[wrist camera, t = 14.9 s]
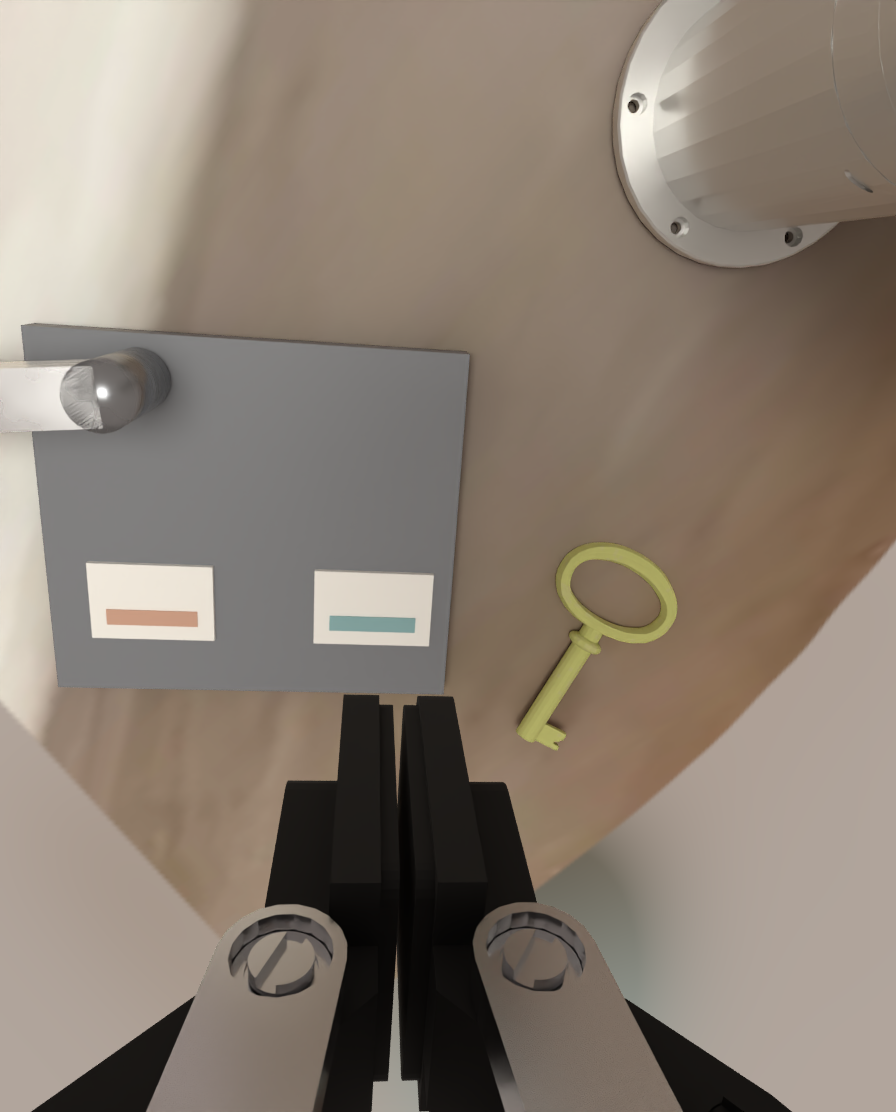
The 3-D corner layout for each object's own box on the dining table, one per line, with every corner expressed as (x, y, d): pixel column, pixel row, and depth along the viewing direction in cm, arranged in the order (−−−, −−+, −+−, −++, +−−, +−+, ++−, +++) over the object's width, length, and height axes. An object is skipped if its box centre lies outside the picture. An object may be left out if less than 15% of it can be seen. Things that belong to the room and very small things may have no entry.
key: (508, 728, 46) (514, 748, 44) (564, 531, 43) (574, 543, 41) (622, 745, 47) (634, 766, 45) (687, 556, 44) (703, 569, 42)
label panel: (466, 351, 38) (470, 355, 37) (441, 680, 44) (443, 698, 43) (34, 323, 36) (17, 326, 35) (68, 673, 42) (55, 690, 41)
